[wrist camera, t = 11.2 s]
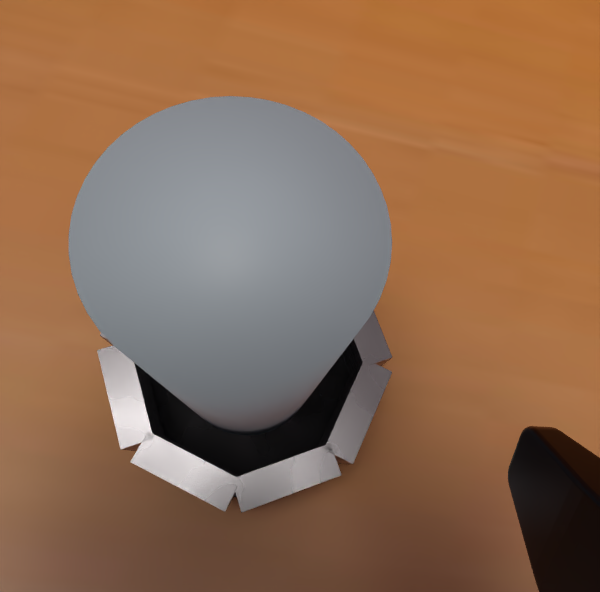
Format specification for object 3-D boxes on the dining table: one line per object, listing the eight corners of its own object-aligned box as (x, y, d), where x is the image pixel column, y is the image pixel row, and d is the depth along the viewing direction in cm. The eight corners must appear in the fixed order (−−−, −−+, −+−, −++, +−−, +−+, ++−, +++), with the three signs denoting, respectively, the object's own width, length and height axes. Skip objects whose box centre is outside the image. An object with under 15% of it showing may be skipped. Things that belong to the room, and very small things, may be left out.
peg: (330, 409, 19) (441, 328, 8) (203, 454, 18) (110, 439, 7) (289, 291, 20) (329, 69, 9) (168, 328, 19) (39, 135, 8)
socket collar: (398, 446, 20) (426, 443, 16) (165, 533, 18) (144, 549, 15) (318, 239, 22) (329, 199, 19) (106, 300, 21) (77, 269, 17)
